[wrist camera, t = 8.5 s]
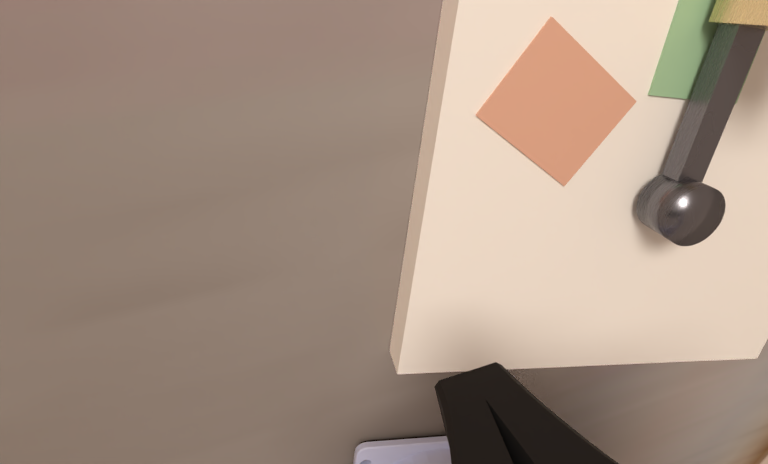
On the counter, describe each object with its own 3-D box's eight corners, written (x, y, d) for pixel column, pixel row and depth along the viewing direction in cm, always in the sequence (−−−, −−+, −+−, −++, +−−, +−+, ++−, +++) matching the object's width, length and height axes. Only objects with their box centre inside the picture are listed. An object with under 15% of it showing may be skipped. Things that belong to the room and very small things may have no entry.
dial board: (731, 339, 25) (759, 359, 24) (389, 350, 21) (398, 375, 20) (902, -6, 19) (953, -6, 17) (456, -88, 15) (476, -96, 13)
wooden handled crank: (677, 228, 19) (802, 301, 15) (628, 226, 19) (742, 301, 14) (787, -39, 15) (1000, -52, 11) (730, -52, 15) (929, -70, 10)
